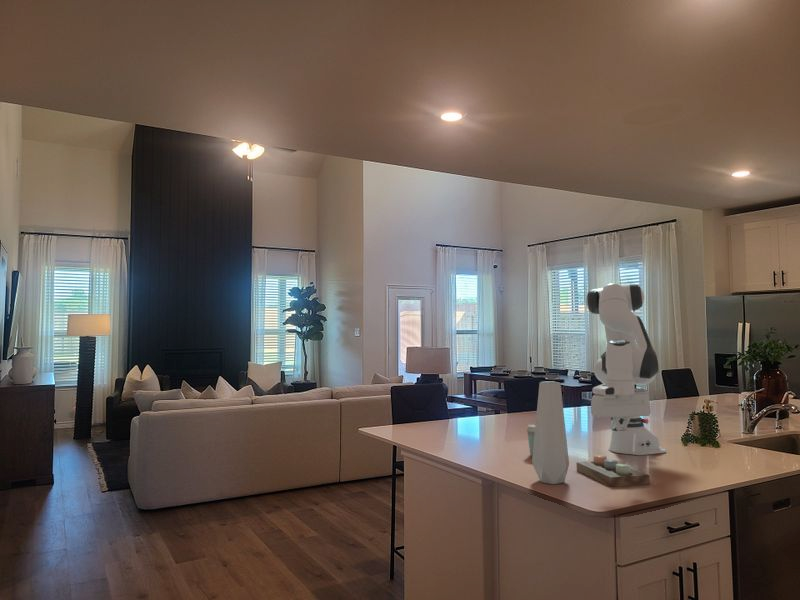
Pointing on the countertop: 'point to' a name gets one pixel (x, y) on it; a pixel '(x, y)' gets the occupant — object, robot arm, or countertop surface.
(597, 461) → the button terracotta
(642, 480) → the panel
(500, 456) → the countertop surface
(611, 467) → the button grey
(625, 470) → the button sage
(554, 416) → the white faceted column
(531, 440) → the coffee cup
